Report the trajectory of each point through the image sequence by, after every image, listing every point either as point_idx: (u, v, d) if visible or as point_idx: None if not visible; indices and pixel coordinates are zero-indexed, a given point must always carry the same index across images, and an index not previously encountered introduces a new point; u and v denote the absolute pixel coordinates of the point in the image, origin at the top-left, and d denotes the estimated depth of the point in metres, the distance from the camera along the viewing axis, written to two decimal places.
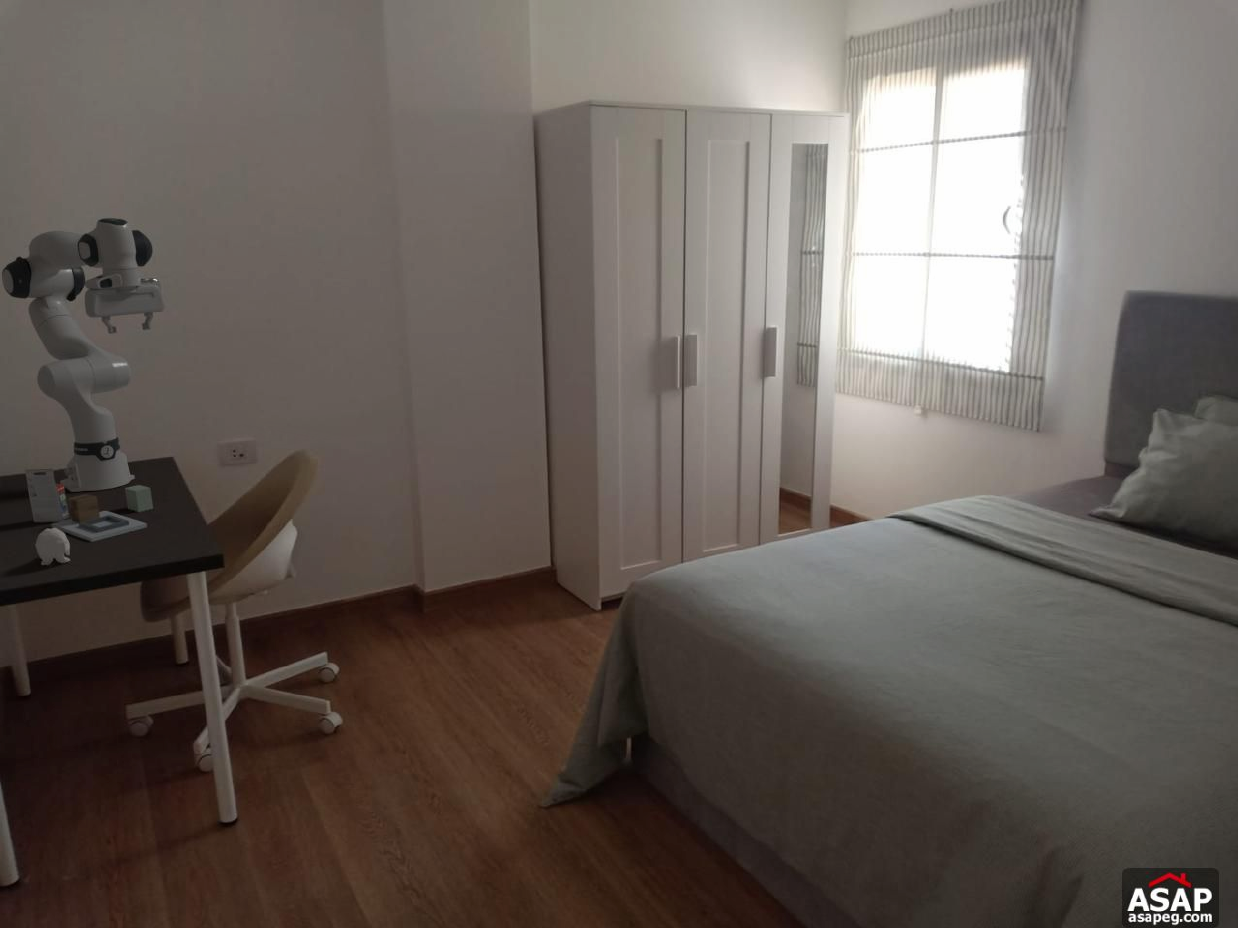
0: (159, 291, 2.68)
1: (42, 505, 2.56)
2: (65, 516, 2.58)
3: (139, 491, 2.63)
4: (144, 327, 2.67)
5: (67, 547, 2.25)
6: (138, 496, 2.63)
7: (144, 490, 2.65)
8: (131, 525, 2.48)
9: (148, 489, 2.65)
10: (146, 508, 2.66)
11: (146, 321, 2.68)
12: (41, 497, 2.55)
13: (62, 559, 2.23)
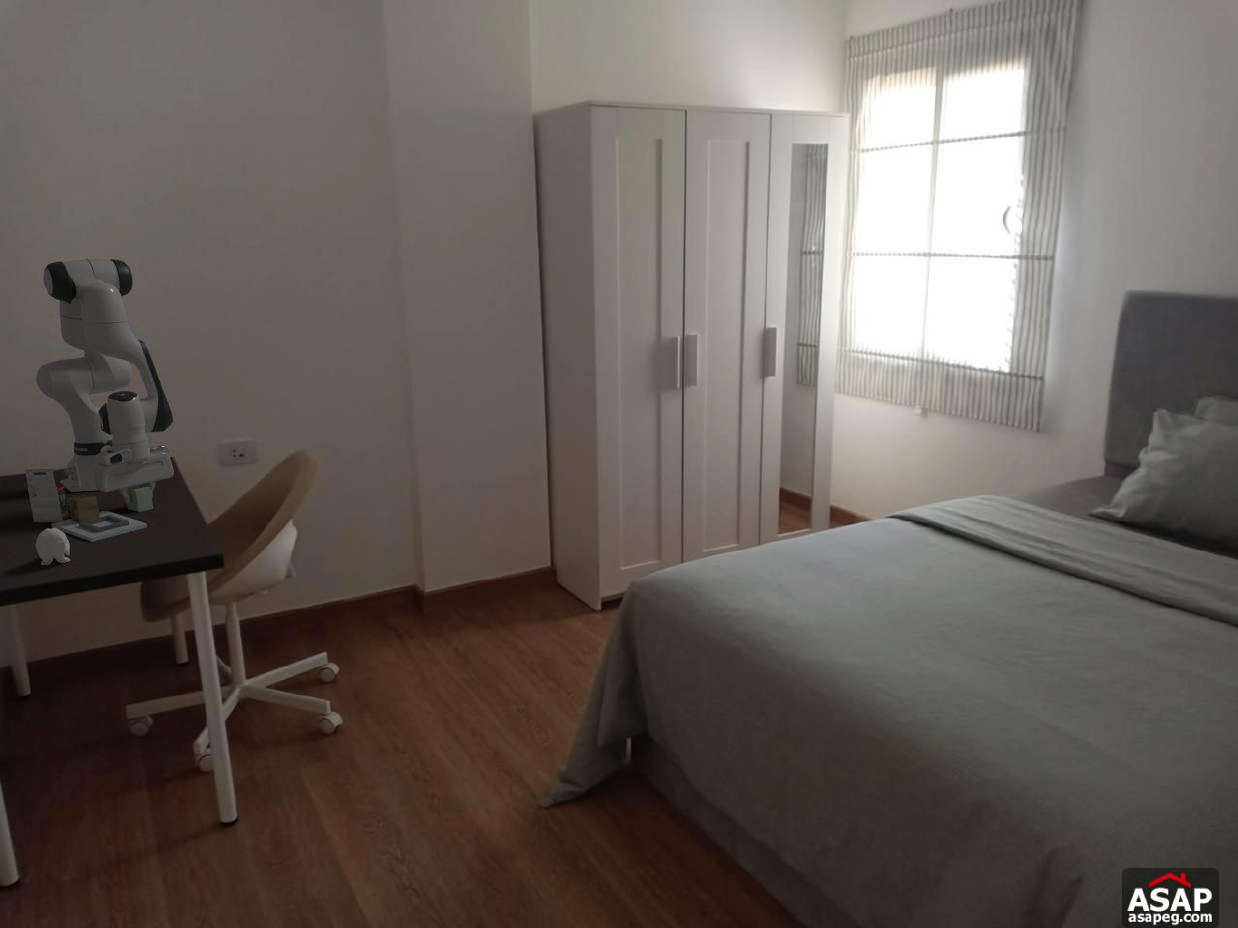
0: (168, 458, 2.70)
1: (42, 505, 2.56)
2: (65, 516, 2.58)
3: (139, 491, 2.63)
4: None
5: (67, 547, 2.25)
6: (138, 496, 2.63)
7: (144, 490, 2.65)
8: (131, 525, 2.48)
9: (148, 489, 2.65)
10: (146, 508, 2.66)
11: None
12: (41, 497, 2.55)
13: (62, 559, 2.23)
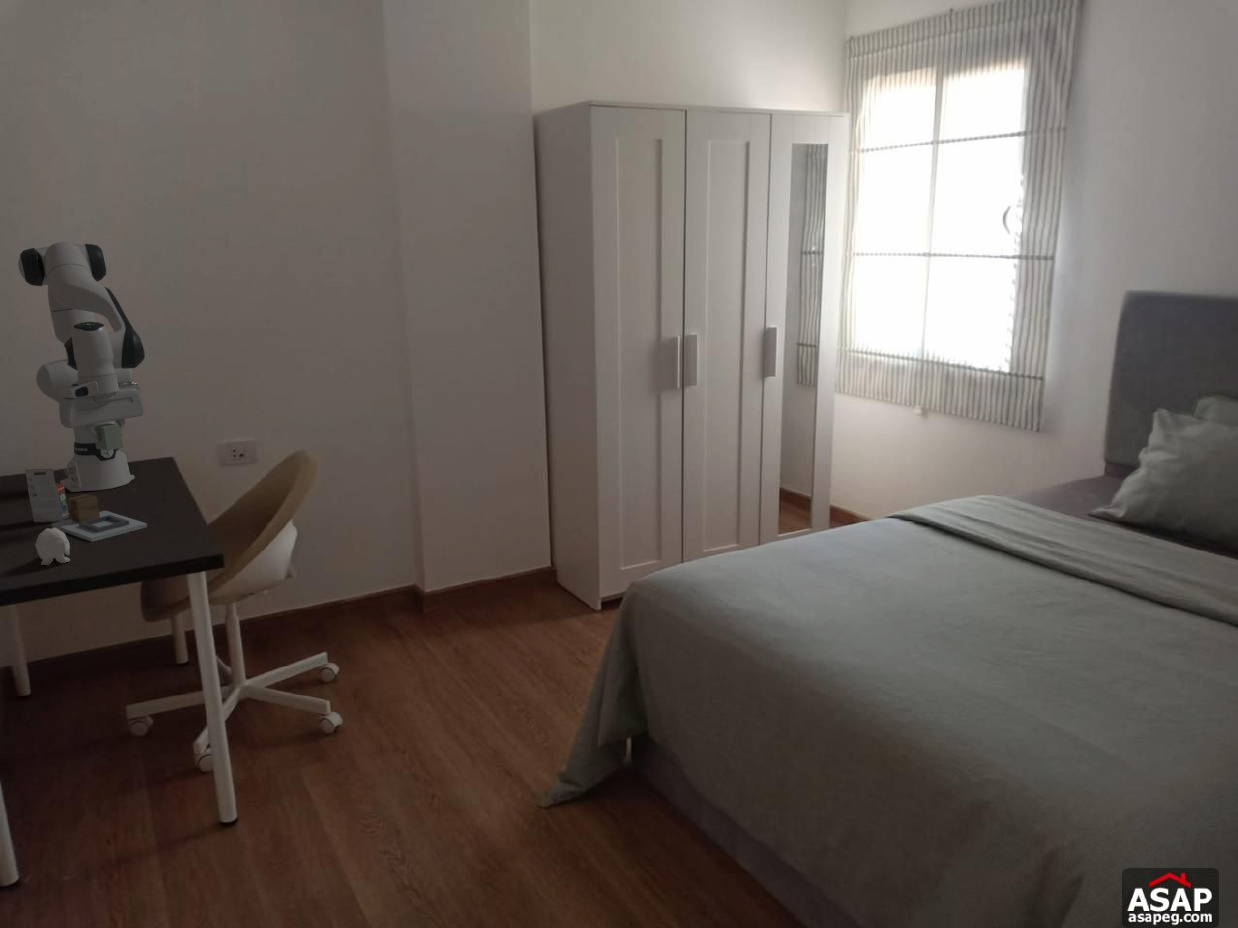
0: (138, 395, 2.55)
1: (42, 505, 2.56)
2: (65, 516, 2.58)
3: (107, 428, 2.48)
4: None
5: (67, 547, 2.25)
6: (106, 433, 2.48)
7: (113, 427, 2.49)
8: (131, 525, 2.48)
9: (117, 426, 2.50)
10: (115, 446, 2.50)
11: None
12: (41, 497, 2.55)
13: (62, 559, 2.23)
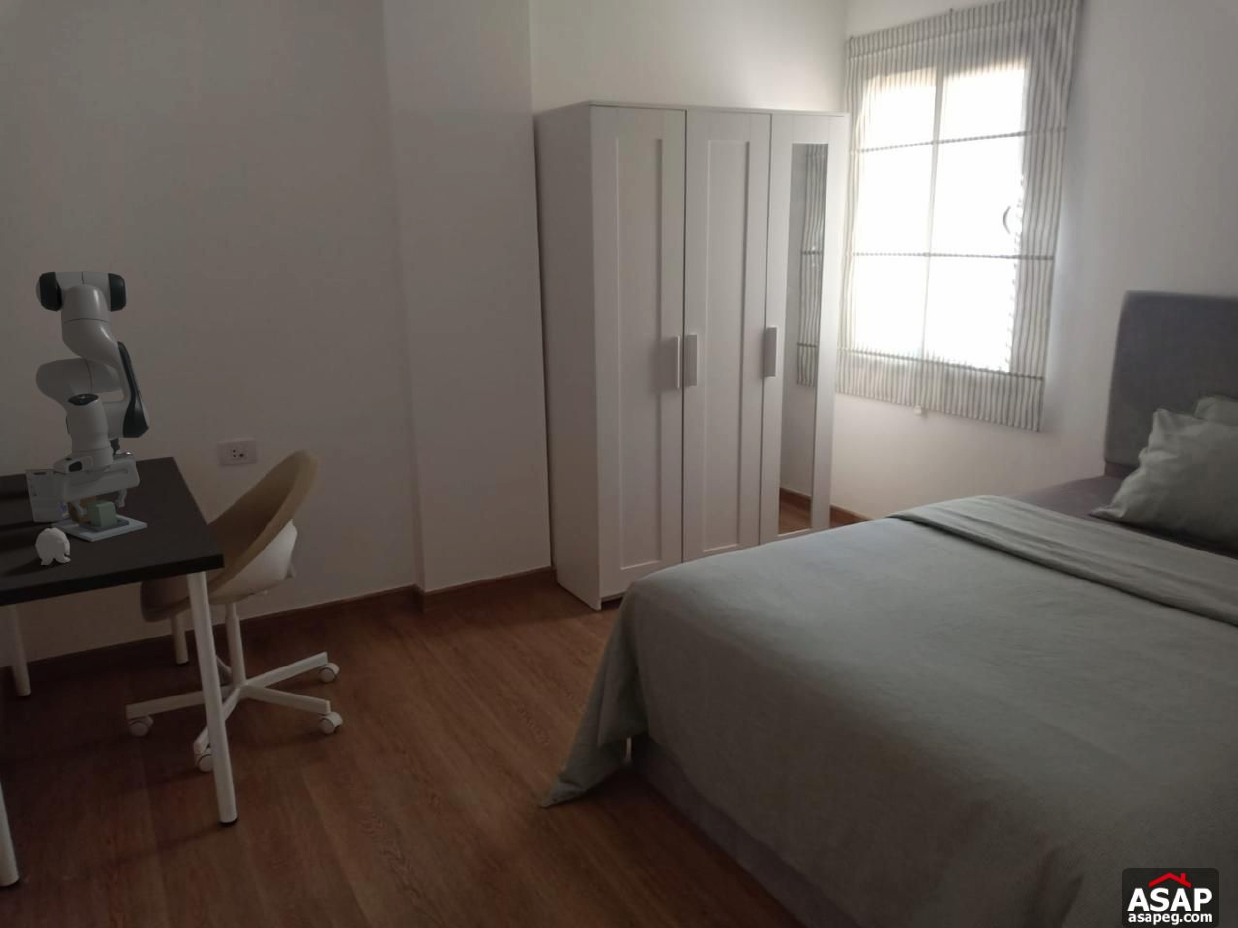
0: (133, 465, 2.52)
1: (42, 505, 2.56)
2: (65, 516, 2.58)
3: (102, 506, 2.45)
4: (117, 504, 2.51)
5: (67, 547, 2.25)
6: (101, 512, 2.45)
7: (108, 505, 2.46)
8: (131, 525, 2.48)
9: (112, 504, 2.47)
10: None
11: (119, 497, 2.52)
12: (41, 497, 2.55)
13: (62, 559, 2.23)
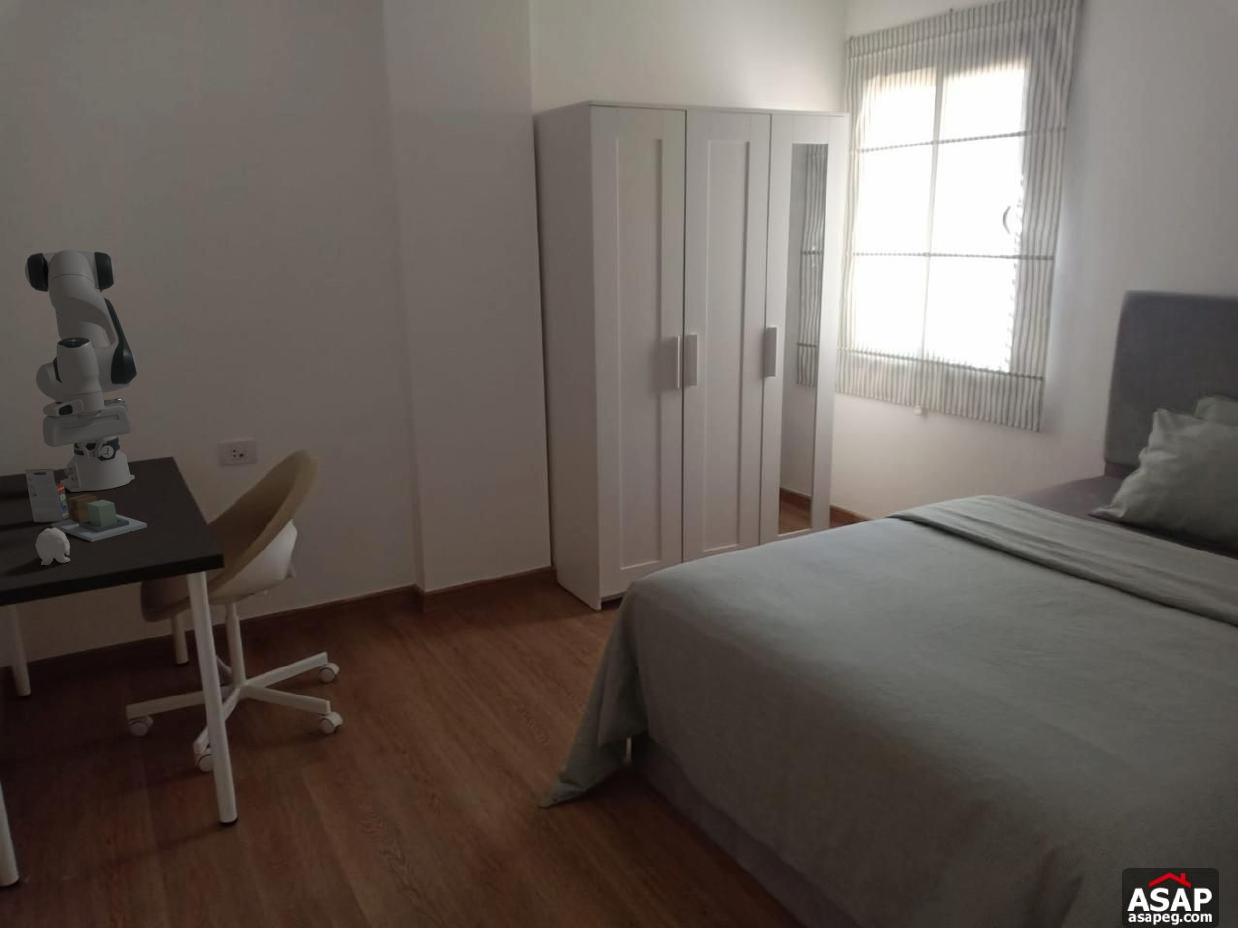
0: (125, 412, 2.48)
1: (42, 505, 2.56)
2: (65, 516, 2.58)
3: (102, 506, 2.45)
4: (94, 454, 2.45)
5: (67, 547, 2.25)
6: (101, 512, 2.45)
7: (108, 505, 2.46)
8: (131, 525, 2.48)
9: (112, 504, 2.47)
10: None
11: (96, 447, 2.45)
12: (41, 497, 2.55)
13: (62, 559, 2.23)
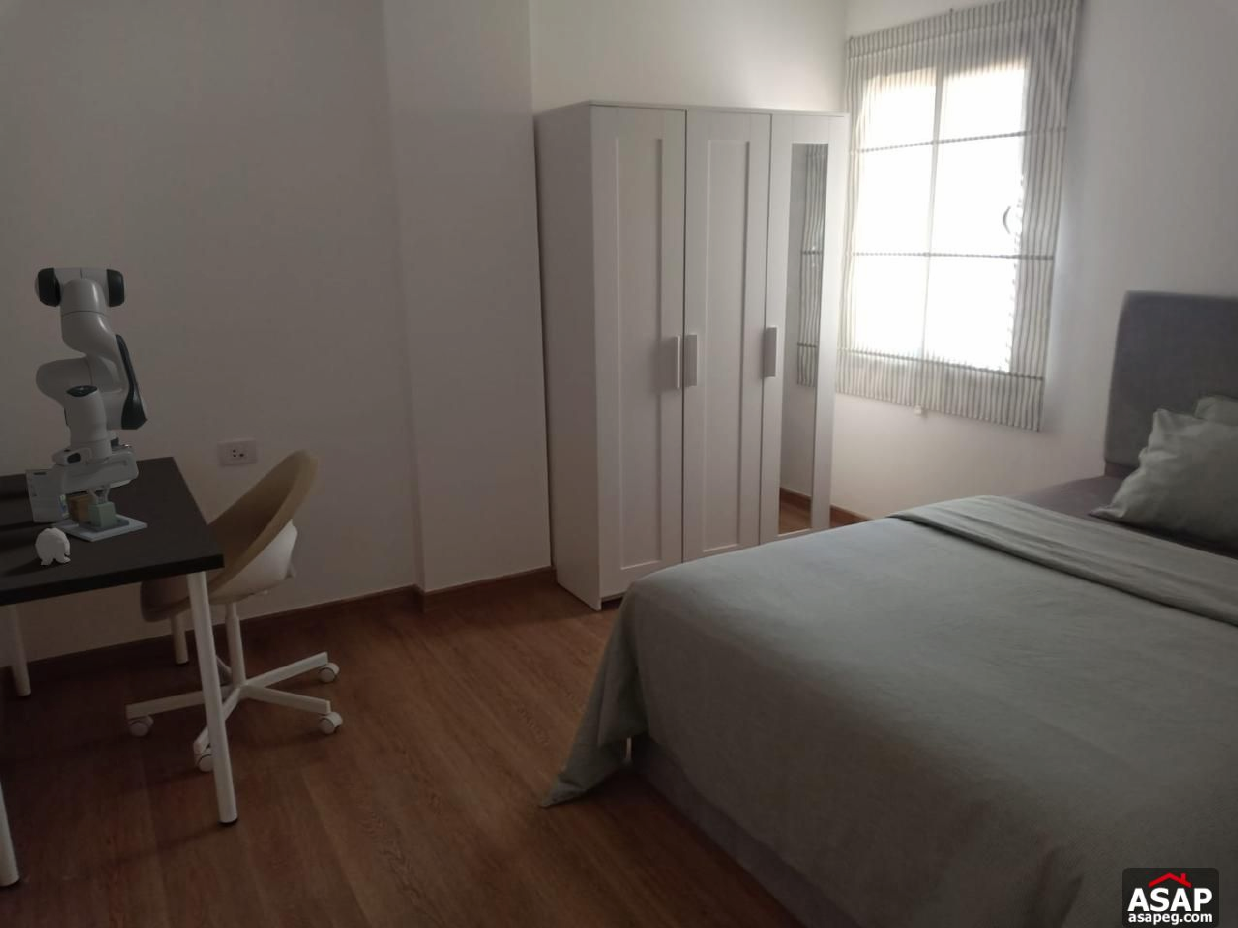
0: (132, 458, 2.51)
1: (42, 505, 2.56)
2: (65, 516, 2.58)
3: (102, 507, 2.45)
4: None
5: (67, 547, 2.25)
6: (101, 512, 2.45)
7: (108, 505, 2.46)
8: (131, 525, 2.48)
9: (112, 504, 2.47)
10: None
11: (103, 493, 2.48)
12: (41, 497, 2.55)
13: (62, 559, 2.23)
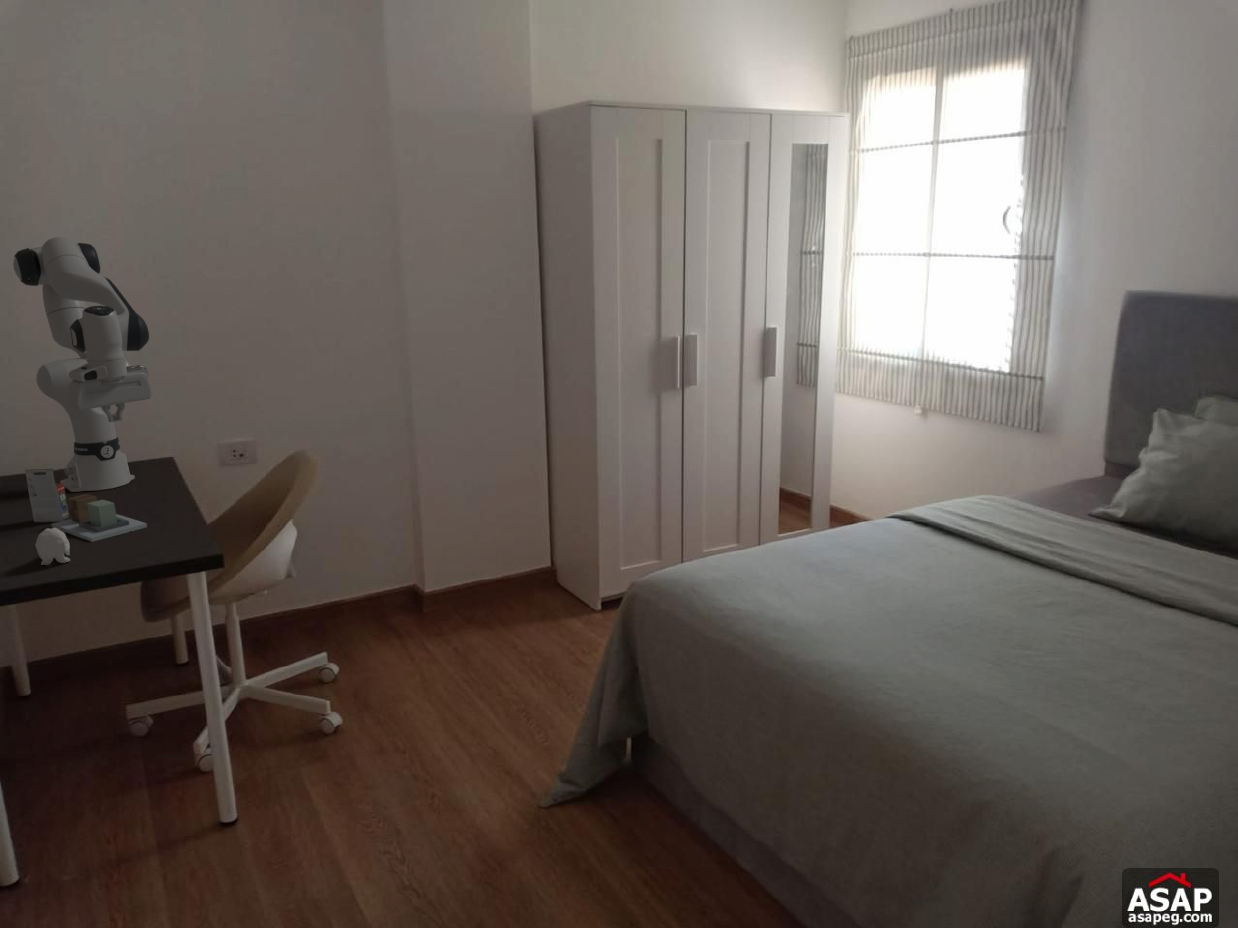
0: (146, 378, 2.59)
1: (42, 505, 2.56)
2: (65, 516, 2.58)
3: (102, 506, 2.45)
4: None
5: (67, 547, 2.25)
6: (101, 512, 2.45)
7: (108, 505, 2.46)
8: (131, 525, 2.48)
9: (112, 504, 2.47)
10: None
11: (117, 412, 2.56)
12: (41, 497, 2.55)
13: (62, 559, 2.23)
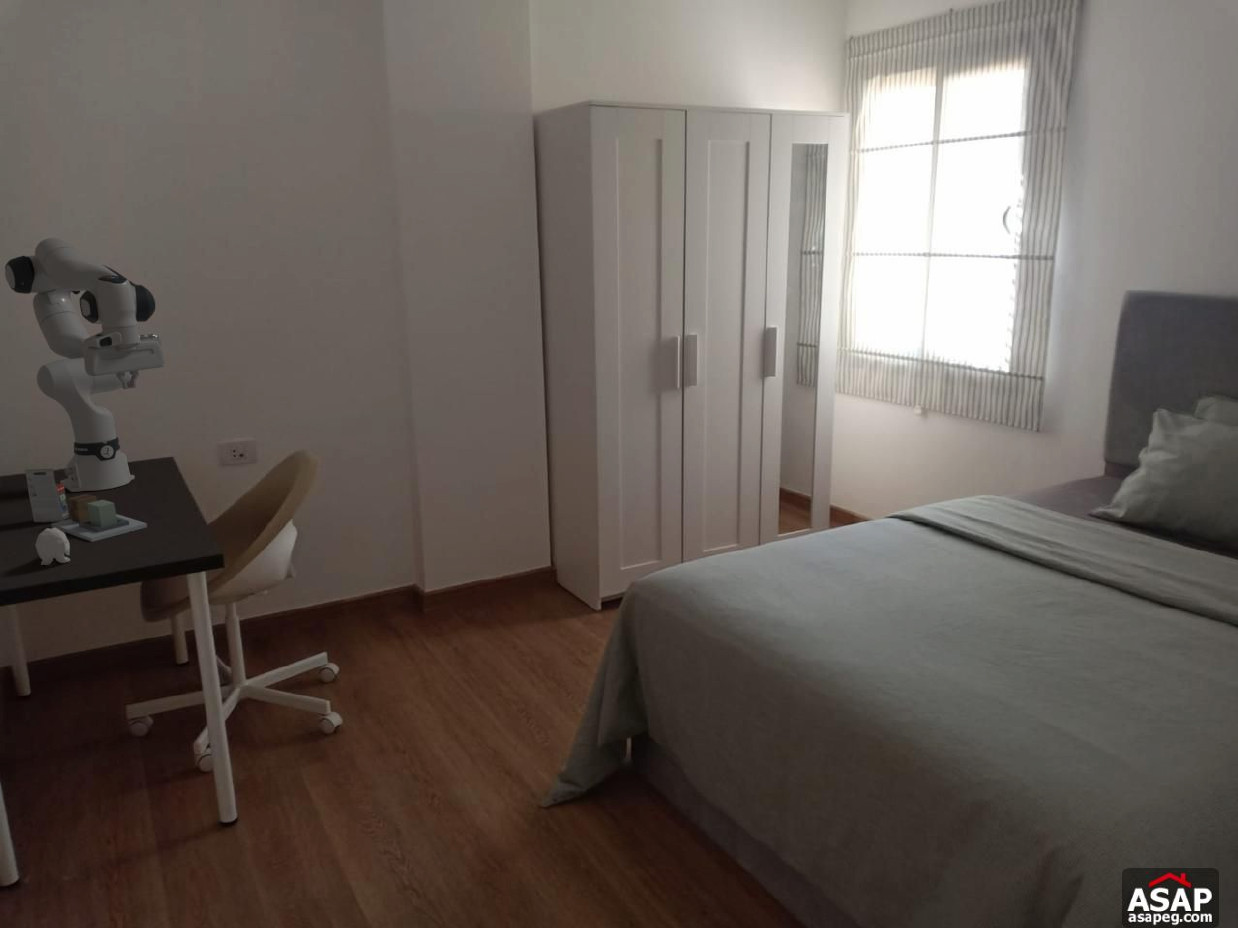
0: (159, 347, 2.66)
1: (42, 505, 2.56)
2: (65, 516, 2.58)
3: (102, 506, 2.45)
4: None
5: (67, 547, 2.25)
6: (101, 512, 2.45)
7: (108, 505, 2.46)
8: (131, 525, 2.48)
9: (112, 504, 2.47)
10: None
11: (131, 379, 2.63)
12: (41, 497, 2.55)
13: (62, 559, 2.23)
